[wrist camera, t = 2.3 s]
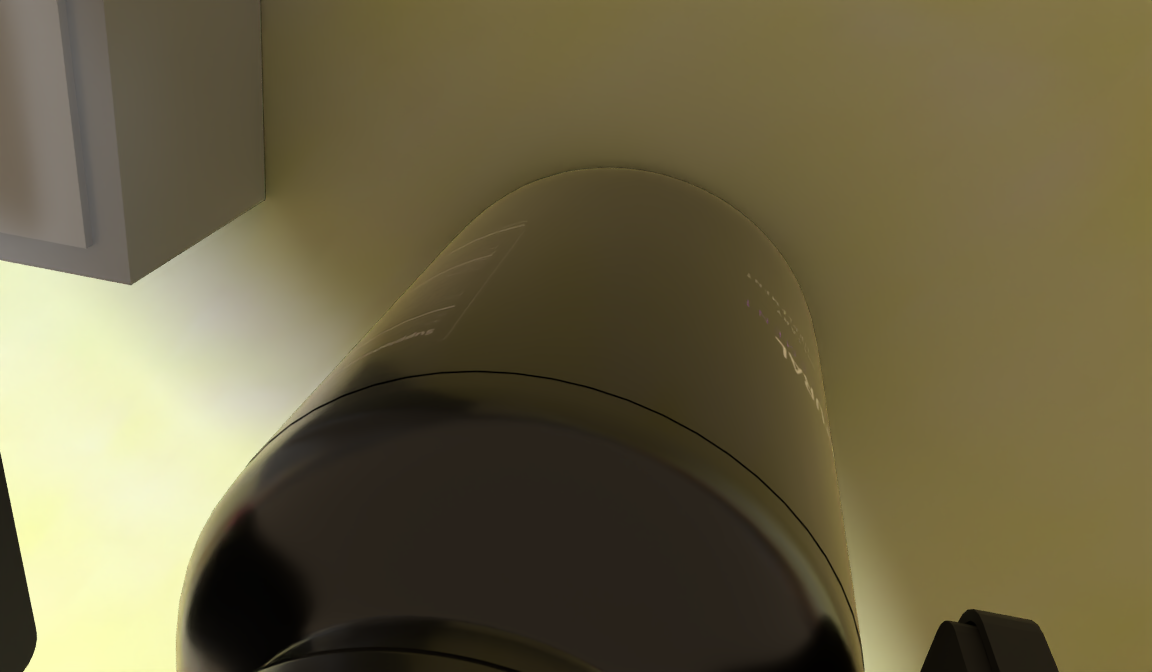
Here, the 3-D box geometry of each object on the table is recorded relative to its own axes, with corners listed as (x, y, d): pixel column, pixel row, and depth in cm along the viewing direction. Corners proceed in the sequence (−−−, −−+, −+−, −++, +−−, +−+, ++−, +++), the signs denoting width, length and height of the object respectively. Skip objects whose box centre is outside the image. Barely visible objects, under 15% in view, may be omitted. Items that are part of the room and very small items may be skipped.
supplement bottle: (904, 331, 15) (1250, 1305, 5) (643, 563, 18) (500, 1489, 8) (581, 62, 14) (115, 539, 4) (361, 353, 17) (-252, 1083, 7)
